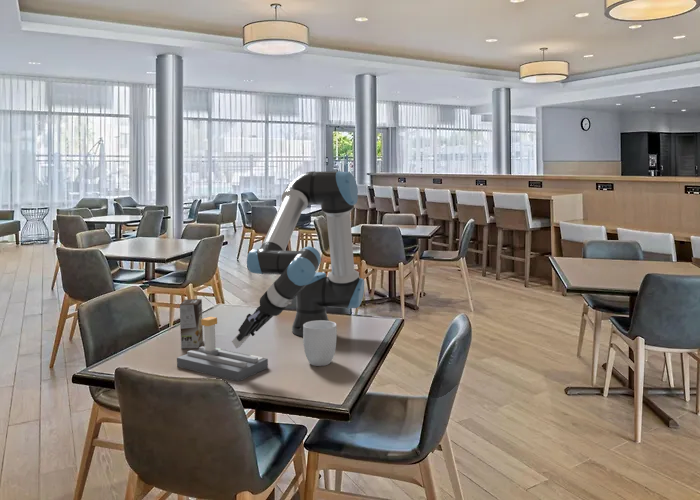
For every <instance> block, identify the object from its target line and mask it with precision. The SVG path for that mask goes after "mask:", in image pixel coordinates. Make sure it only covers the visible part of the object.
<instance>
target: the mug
mask: <svg viewBox="0 0 700 500" xmlns="http://www.w3.org/2000/svg"><path fill="white" fill-rule="evenodd" d="M337 327H338V326H337V323H336V322H335V321H331V320H329V321H325V320H317V321H310V322H306V323H305V324H304V325H303V336H302V338H303V341H302V343H303V349H304V353H305V357H306V359H307V361H308V362H309V364H310V365H312V366H315V367H326V366H329V364H330V363H331V362H332V361H333V359H334V356H335V353H336V348H337V329H338V328H337Z"/></svg>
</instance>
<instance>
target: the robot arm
mask: <svg viewBox="0 0 700 500" xmlns="http://www.w3.org/2000/svg"><path fill="white" fill-rule="evenodd" d="M358 193H359V190H358V184H357V181H356V178H355V176H354V175H353V173H351V172H349V171H341V170H338V171H336V170H334V171H333V170H332V171H330V170H329V171H316V170H315V171H314V170H312V171H307V172H304V173H302V174H300V175H298V176H297V177H296V178H294V179H293V180H292V181H290V183H289V184H288V185H286V187H285V189H284V191H283V192H282V194H281V204H280V205H279V208H278V210H277V212H276V214H275V216H274V218H273V220H272V223H271V224H270V227H269V229H268V231H267V233H266V235H265V238H264V240H263V241H262V243H261V245H260V247H259V248H255V249H251V250H249V252H248V253H247V256H246V266H247V269H248V271H249V272H250V273H251V274H258V275H276V276H278V278H277V279H276V280H275V281H274V282H272V284H271V285H270V286H269V287H268V288H267V290H266V291H265V292H264V293H263V294H262V295H261V297H260V298H259V306H258V307H257V308H256V309H255V311H254V312H253V313H252V314H251V313H248V314H247V315H246V317H245V319H244V321H243V322H242V323H241V325H240V327H239V328H238V330H237V331H238V334H237V335H236V336H235V337H234V338H233V339H232V341H231V343H232V344H233V346H234V347H235V349H238V348H240V347H242V345H243V344H244V343H245V342H246V341H247V339H248V338H250V337H251V336H252V337H253V336H255V335H256V333H255V332H259V330H261V328H262V327H263V326H264V325H265V324H267V323H268V322H269V321H270V320H271V319H272V318H273V317H276V316H277V317H278V316H279V315H280V314H281V313H282V312H283V311H284V310H285V309H286V308H287V306H288V305H289V306H290V305H292V301H293V300H294V299H296V301H295V302H296V303H295V305H296V312H295V317H294V319H293V322H292V323H293V324H292V327H291V330H292V331H291V332H292V334H294V335H295V336H300V337H303V325H304V324H305V323H306V322H310V321H317V320H325V321H330V320H329V317H328V314H327V308H338V309H339V308H341V309H348V310H349V309H357V308H359V307H360V306H361V304H362V301H363V297H364V292H365V279H364V278H362V277H360V274H359V271H357V270H356V269H355V261H354V249H353V248H354V247H353V238H352V237H353V235H352V224H351V212H352V211H353V209H354V205H356V204H357V203H358V199H359V195H358ZM309 205H320V208H321V211H322V213H324V214H325V216H326V225H327V235H328V245H329V256H330V265H331V266H330V267H331V272H330V273H329V274H328V276H327V274H326V272H323V271H322V272H321V271H320V272H318V271H317V270H318V269H319V267H320V264H321V262H322V257H321V256H322V255H321V254H320V251H319V250H317V248H315V247H313V246H305V247H303V248H301V249H300V250H286V249H287V246H288V244H289V242H290V240H291V238H292V236H293V232H294V230H295V228H296V227H297V223H298V222H299V220H300V217H301V214H302V212H304V211H305V210H306V209H307V208H308V206H309ZM316 271H317V272H316Z"/></svg>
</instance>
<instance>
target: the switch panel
mask: <svg viewBox="0 0 700 500" xmlns="http://www.w3.org/2000/svg"><path fill="white" fill-rule="evenodd" d="M204 349H205V345H204V346H203V345H202V346H201V345H200V346H199V347H198V349H197V350H188V351H186V352H187V353H186V354H183V355H180V356H177V357H176V367H177V368H182V369H185V370H189V371H193V372H197V373H201V374H202V373H203V374H205V375H210V376H215V377H219V378H222V379H223V378H224V379H227V380H231V381H235V382H240V381H242V380H243V381H244V380H245V379H247V378H249V377H251V376H253V375H256V374H257V373H260V372H262V371H264V370H266V369H268V368H269V363H268V362H269V359H268V358H265V357H263V356H259V355H258V356H257V355H254V354H245V353H242V352H238V351H233V350H232V351H231V350H228V349H223V348H219V347H216V349H218V355H210V354H206V353H203V350H204Z"/></svg>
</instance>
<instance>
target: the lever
mask: <svg viewBox="0 0 700 500" xmlns="http://www.w3.org/2000/svg"><path fill="white" fill-rule="evenodd" d="M201 322H202V326H203V329H204V330H203V337H204V347H205V349H204V350H203V353H206V354H210V355H218V349H216V348H217V345H216V325H218V317H215V316H208V317H204V318H203V317H202V319H201Z"/></svg>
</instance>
